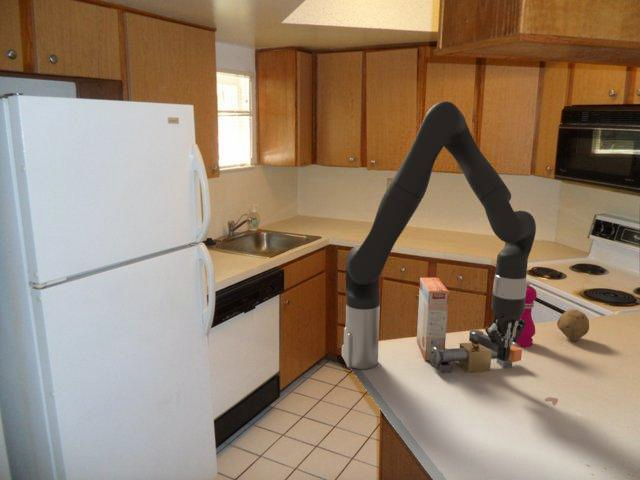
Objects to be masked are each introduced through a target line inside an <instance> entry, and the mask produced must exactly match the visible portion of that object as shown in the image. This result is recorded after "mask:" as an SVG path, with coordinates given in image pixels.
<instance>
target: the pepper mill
mask: <svg viewBox="0 0 640 480" xmlns="http://www.w3.org/2000/svg"><path fill="white" fill-rule="evenodd" d="M526 285H527V286H526V297H525V307H524V313H523V314H522V315H520V316H521V318H520V319H521V320H523V321H525V322H526V325H525V327H524V329H523V331H522V333H521V335H520V336H519V338H518V340H517V344H518V345H519V348H530V347H532V346H533V341H534V340H533V339H534V338H533V336H535V335H536V326H535V323H534V320H533V317H532V310H533V308H534V306H535V302H534V301H535V300H536V299H537V295H538V294H537V291H536V288H534V287H533V286H531V283H530V281H529V280H526Z"/></svg>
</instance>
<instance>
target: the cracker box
mask: <svg viewBox="0 0 640 480" xmlns="http://www.w3.org/2000/svg"><path fill="white" fill-rule="evenodd" d="M418 291H419V294H418V312H417V315H418V316H417V329H416V331H417V332H416V343H417V344H418V348H419V350H420V352H421V354H422V356H423V359H424V361H431V359H430V350H431V348H432V347H438V349H439V350H440V349H446V340H447V339H446V338H447V325H448V323H447V322H448V310H449V297H450V296H449V295H450V294H449V293H450V291H449V290H448V289H447V287H446V286H445V285H444V284H443V283H442V281H441V279H440V278H439V277H420V278H419V290H418Z"/></svg>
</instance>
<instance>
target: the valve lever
mask: <svg viewBox="0 0 640 480" xmlns="http://www.w3.org/2000/svg"><path fill="white" fill-rule="evenodd" d="M468 341H469V343H471V342H472V343H478V344H480V345H482V346H484V347H486V348H489V349H491V350H493V351H495V352H497V353H498V345H495V344H493V343H492V341H491V340H490V338H489V336H488V335H487V334H485V333H484V332H483V331H481V330H478V329H471V330H470V331H469V338H468ZM522 351H523V349H522V347H519V348H518V347H516V346H514V345H512V346H510V354H509V359H508V360H510V361H512V363H517V362H519V361H522V355H523V354H522V353H523V352H522Z"/></svg>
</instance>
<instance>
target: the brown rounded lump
mask: <svg viewBox="0 0 640 480" xmlns="http://www.w3.org/2000/svg"><path fill="white" fill-rule="evenodd" d="M556 326H557V328H558V329H559V330H560V331H561V332H562V334H563V335H565V337H566V338H567V339H569V340H570V341H573V342H574V341H575V342H576V341H578V340H580V339H582V338H583V337H584V336H585V335H587V334H588V332H589V330H590V320H589V318H588V316H587V315H586V314H585V313H584V312H582V311H581V310H578V309H576V308H571V309H568V310H565V311H564V312H563V313H562V314H561V315H560V316H559V317H558V319H557V321H556Z"/></svg>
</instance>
